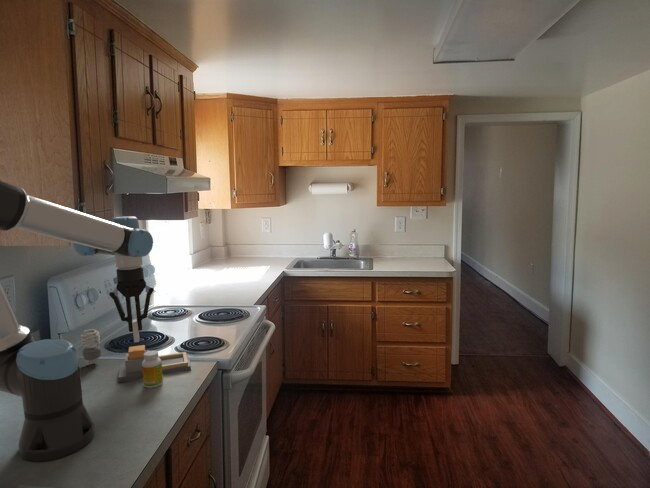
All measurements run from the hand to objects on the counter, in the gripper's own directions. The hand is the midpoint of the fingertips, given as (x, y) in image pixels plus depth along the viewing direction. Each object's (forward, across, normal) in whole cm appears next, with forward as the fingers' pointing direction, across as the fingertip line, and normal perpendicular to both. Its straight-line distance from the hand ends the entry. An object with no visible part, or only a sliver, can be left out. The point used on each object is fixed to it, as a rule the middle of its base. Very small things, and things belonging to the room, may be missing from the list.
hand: (136, 340), depth 142 cm
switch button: (+6, 0, 0) cm, 6 cm away
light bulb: (+10, +15, -13) cm, 22 cm away
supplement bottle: (+10, -4, +11) cm, 16 cm away
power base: (+10, -5, 0) cm, 11 cm away
